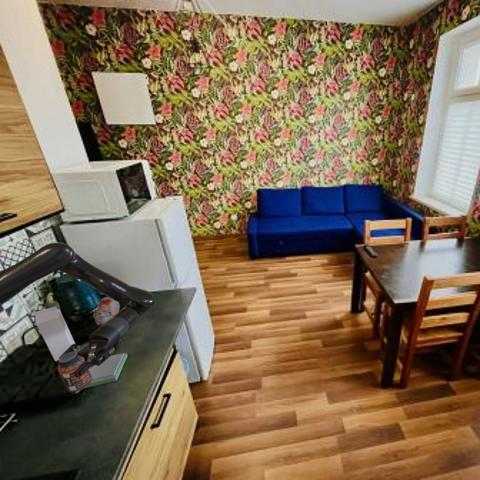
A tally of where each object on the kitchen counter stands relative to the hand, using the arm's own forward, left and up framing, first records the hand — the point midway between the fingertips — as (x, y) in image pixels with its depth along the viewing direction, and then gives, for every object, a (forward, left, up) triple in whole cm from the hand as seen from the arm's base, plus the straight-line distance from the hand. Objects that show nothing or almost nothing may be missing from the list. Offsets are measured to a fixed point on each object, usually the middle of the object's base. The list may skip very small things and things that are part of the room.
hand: (65, 374), depth 76 cm
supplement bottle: (+1, +2, -7) cm, 8 cm away
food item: (-12, +54, -19) cm, 58 cm away
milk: (-20, +33, -19) cm, 43 cm away
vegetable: (-28, +49, -19) cm, 59 cm away
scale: (-2, +18, -19) cm, 26 cm away
